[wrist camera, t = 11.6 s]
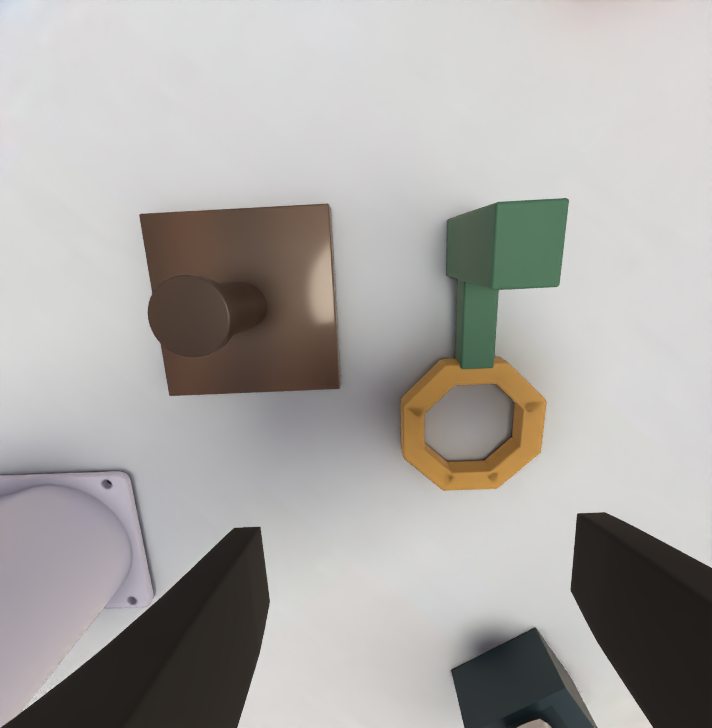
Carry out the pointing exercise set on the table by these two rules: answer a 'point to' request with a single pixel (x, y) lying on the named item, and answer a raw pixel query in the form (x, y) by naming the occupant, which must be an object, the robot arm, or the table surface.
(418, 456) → the octagonal ring with handle
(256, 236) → the peg stand
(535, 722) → the bust statue
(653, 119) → the table surface
